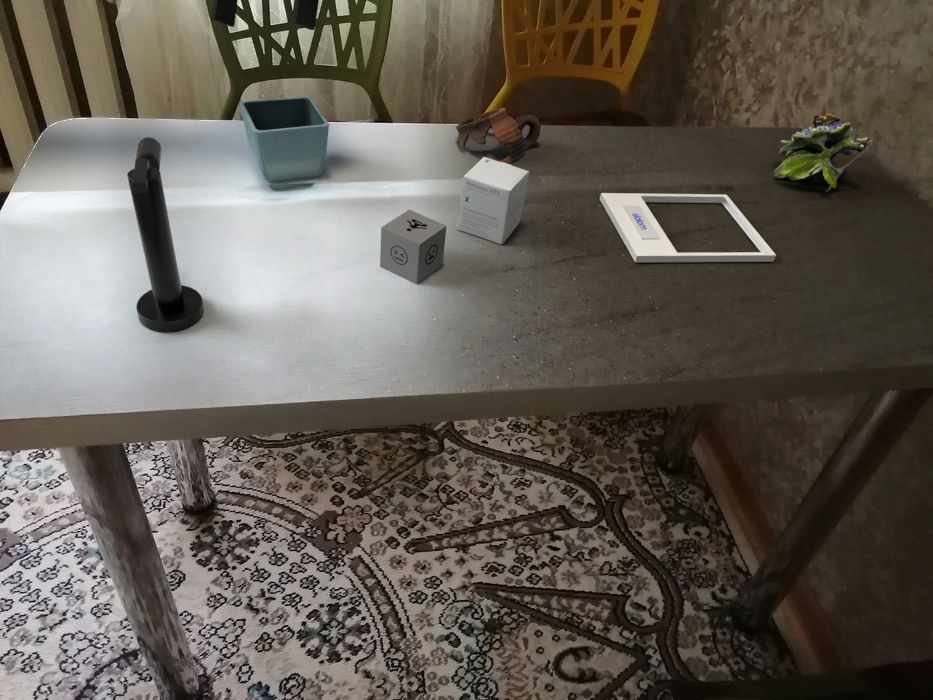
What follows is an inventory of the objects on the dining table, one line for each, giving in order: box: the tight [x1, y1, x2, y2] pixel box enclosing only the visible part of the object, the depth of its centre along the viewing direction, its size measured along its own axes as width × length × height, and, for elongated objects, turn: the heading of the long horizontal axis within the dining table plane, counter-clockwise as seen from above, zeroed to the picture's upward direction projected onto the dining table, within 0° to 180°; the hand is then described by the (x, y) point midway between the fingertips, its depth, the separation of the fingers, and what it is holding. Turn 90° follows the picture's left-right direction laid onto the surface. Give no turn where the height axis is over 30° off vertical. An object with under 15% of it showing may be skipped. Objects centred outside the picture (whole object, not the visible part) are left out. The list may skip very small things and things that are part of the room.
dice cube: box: [379, 209, 447, 285], centre depth 81 cm, size 5×5×5 cm
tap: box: [126, 136, 205, 333], centre depth 69 cm, size 11×6×16 cm, turn 14°
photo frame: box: [599, 192, 777, 263], centre depth 94 cm, size 15×1×18 cm
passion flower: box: [773, 113, 874, 193], centre depth 107 cm, size 11×11×12 cm
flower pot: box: [239, 96, 330, 192], centre depth 91 cm, size 9×9×9 cm
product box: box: [457, 156, 530, 245], centre depth 88 cm, size 6×6×7 cm
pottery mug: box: [455, 107, 542, 165], centre depth 103 cm, size 12×10×8 cm
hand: (261, 25), depth 84 cm, fingers open, 13 cm apart
